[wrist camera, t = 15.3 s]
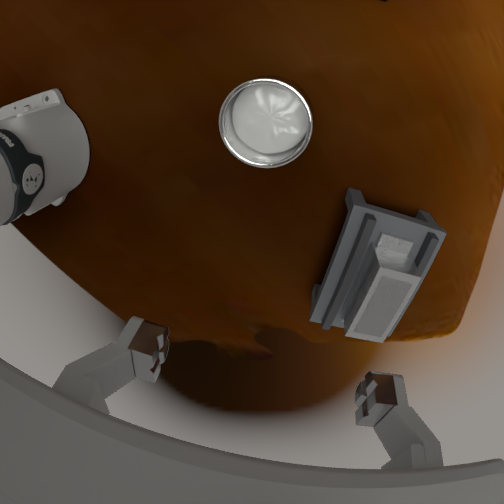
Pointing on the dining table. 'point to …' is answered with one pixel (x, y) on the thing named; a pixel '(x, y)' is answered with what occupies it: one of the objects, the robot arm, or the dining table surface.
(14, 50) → the dining table surface
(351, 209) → the stand
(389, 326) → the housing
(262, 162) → the beer glass
